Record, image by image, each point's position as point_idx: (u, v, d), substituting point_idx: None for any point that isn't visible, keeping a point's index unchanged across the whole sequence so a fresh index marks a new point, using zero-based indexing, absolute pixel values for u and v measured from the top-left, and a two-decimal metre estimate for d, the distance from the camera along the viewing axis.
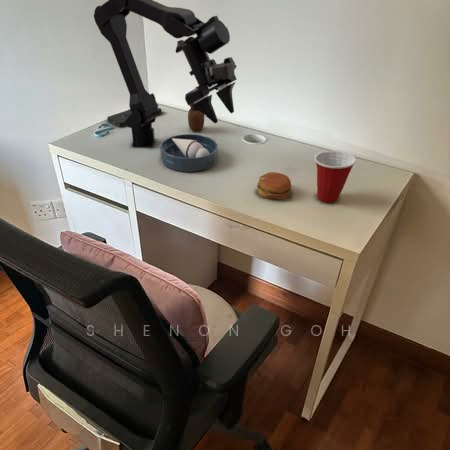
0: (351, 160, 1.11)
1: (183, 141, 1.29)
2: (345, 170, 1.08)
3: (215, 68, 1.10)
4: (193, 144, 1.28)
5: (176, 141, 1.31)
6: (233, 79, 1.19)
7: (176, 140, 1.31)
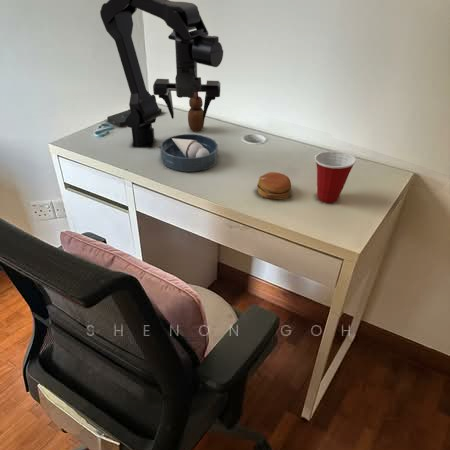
0: (351, 160, 1.11)
1: (183, 141, 1.29)
2: (345, 170, 1.08)
3: (176, 80, 1.12)
4: (193, 144, 1.28)
5: (176, 141, 1.31)
6: (212, 95, 1.17)
7: (176, 140, 1.31)
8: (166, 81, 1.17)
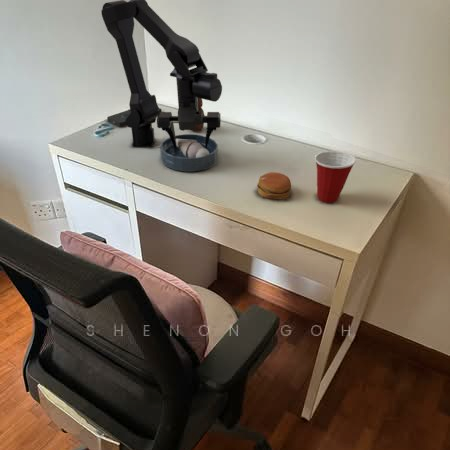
0: (351, 160, 1.11)
1: (183, 141, 1.29)
2: (345, 170, 1.08)
3: None
4: (193, 144, 1.28)
5: (176, 141, 1.31)
6: (212, 126, 1.23)
7: (176, 140, 1.31)
8: (169, 114, 1.24)
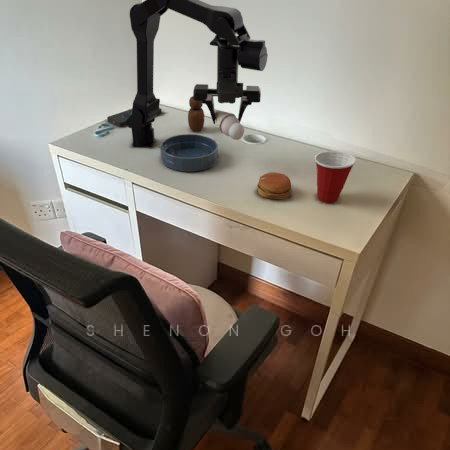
0: (351, 160, 1.11)
1: (220, 112, 1.21)
2: (345, 170, 1.08)
3: (218, 86, 1.11)
4: (229, 117, 1.19)
5: None
6: (252, 100, 1.16)
7: None
8: (206, 87, 1.17)
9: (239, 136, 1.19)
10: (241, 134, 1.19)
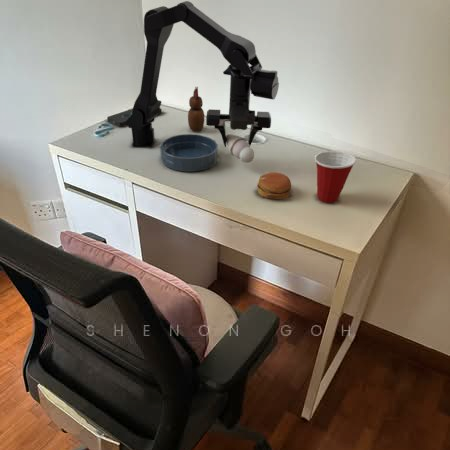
0: (351, 160, 1.11)
1: (231, 136, 1.26)
2: (345, 170, 1.08)
3: (230, 113, 1.16)
4: (240, 141, 1.24)
5: None
6: (263, 126, 1.21)
7: None
8: (218, 112, 1.21)
9: (250, 160, 1.24)
10: (251, 158, 1.24)
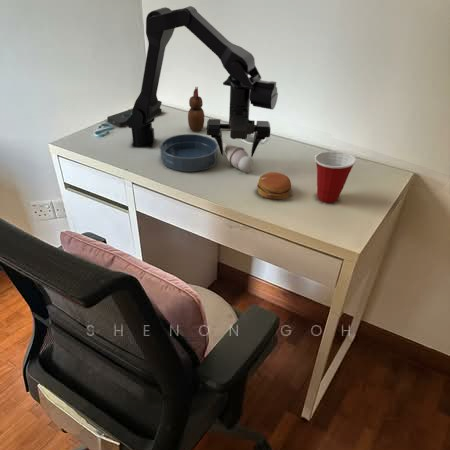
0: (351, 160, 1.11)
1: (230, 147, 1.28)
2: (345, 170, 1.08)
3: (230, 123, 1.18)
4: (238, 151, 1.26)
5: (224, 146, 1.30)
6: (262, 135, 1.22)
7: (224, 145, 1.30)
8: (219, 122, 1.23)
9: (248, 168, 1.26)
10: (250, 167, 1.26)
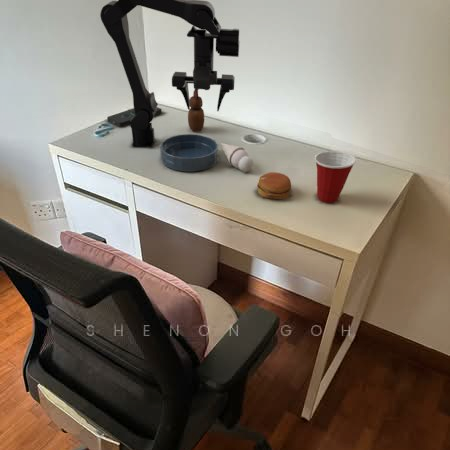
0: (351, 160, 1.11)
1: (230, 147, 1.28)
2: (345, 170, 1.08)
3: (193, 73, 1.20)
4: (238, 151, 1.26)
5: (224, 146, 1.30)
6: (226, 88, 1.25)
7: (224, 145, 1.30)
8: (184, 74, 1.25)
9: (248, 168, 1.26)
10: (250, 167, 1.26)
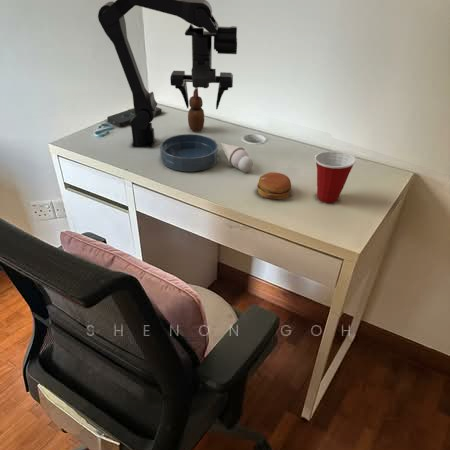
0: (351, 160, 1.11)
1: (230, 147, 1.28)
2: (345, 170, 1.08)
3: (192, 71, 1.21)
4: (238, 151, 1.26)
5: (224, 146, 1.30)
6: (225, 86, 1.25)
7: (224, 145, 1.30)
8: (182, 73, 1.26)
9: (248, 168, 1.26)
10: (250, 167, 1.26)
